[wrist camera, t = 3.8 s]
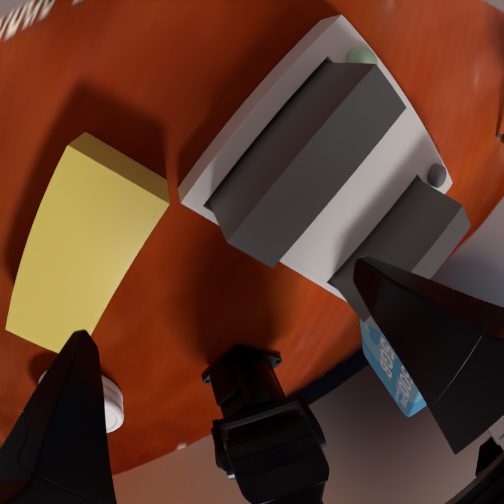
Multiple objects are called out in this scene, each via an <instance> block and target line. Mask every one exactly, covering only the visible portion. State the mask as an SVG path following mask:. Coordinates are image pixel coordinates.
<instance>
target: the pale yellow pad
mask: <svg viewBox="0 0 504 504" xmlns="http://www.w3.org/2000/svg"><path fill="white" fill-rule="evenodd" d="M169 205H170V201H169V193H168V185H167V180H166V179H164V178H163V177H161V176H159V175H158V174H156V173H154V172H153V171H151V170H149V169H148V168H146V167H144V166H143V165H141V164H139V163H138V162H136V161H134V160H133V159H131V158H129V157H128V156H126V155H124V154H123V153H121V152H119V151H118V150H116V149H114V148H112V147H111V146H109V145H107V144H106V143H104V142H102V141H101V140H99V139H97V138H95V137H94V136H92V135H90V134H89V133H87V132H84V133H83V134H82V135H80V136H79V137H78V138H76V139H75V140H74V141H72V142H71V143H70V144H68V145H67V147H66V149H65V151H64V153H63V155H62V157H61V159H60V161H59V163H58V165H57V167H56V170H55V172H54V174H53V176H52V178H51V180H50V183H49V185H48V187H47V190H46V192H45V194H44V197H43V199H42V202H41V204H40V207H39V209H38V212H37V214H36V217H35V220H34V223H33V225H32V228H31V231H30V234H29V237H28V240H27V243H26V246H25V249H24V253H23V256H22V259H21V263H20V266H19V270H18V274H17V277H16V281H15V285H14V290H13V294H12V298H11V303H10V308H9V313H8V318H7V324H6V330H8V331H10V332H12V333H14V334H16V335H18V336H20V337H22V338H24V339H26V340H29V341H31V342H33V343H35V344H37V345H40V346H42V347H44V348H47V349H49V350H51V351H54V352H56V353H59V352H60V351H61V349H62V348H63V346H64V345H65V343H66V342H67V340H68V339H69V337H70V336H71V335H72V333H73V332H74V331H77V330H82V329H85V330H87V332H88V333H89V335H90V336H91V334H92V332H93V330H94V328H95V326H96V325H97V323H98V321H99V319H100V317H101V315H102V313H103V312H104V310H105V308H106V306H107V304H108V303H109V301H110V299H111V297H112V296H113V294H114V292H115V290H116V289H117V287H118V285H119V283H120V282H121V280H122V278H123V277H124V275H125V273H126V272H127V270H128V268H129V267H130V265H131V263H132V262H133V260H134V258H135V257H136V255H137V254H138V252H139V250H140V249H141V247H142V246H143V244H144V243H145V241H146V239H147V238H148V236H149V235H150V233H151V232H152V230H153V229H154V227H155V226H156V224H157V223H158V221H159V220H160V218H161V217H162V215H163V214H164V212H165V211H166V209H167V208H168V206H169Z"/></svg>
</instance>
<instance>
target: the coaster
mask: <svg viewBox="0 0 504 504" xmlns="http://www.w3.org/2000/svg"><path fill="white" fill-rule="evenodd" d="M46 372H47V371H45V372H44V373H43V374H42V375H41V377H40V379H39V383H40V381H41V380H42V378H43V377H44V375H45V373H46ZM102 382H103V390H104V402H105V418H106V431H107V433H108V432H111V431H114V430H116V429H117V428H118V427H120V426H121V424H122V423H123V420H124V413H123V396H122V393H121V391H120V389H119V388H118V387H117V385H116V384H114V383H113V382H112V381H111V380H109V379H108V378H106V377H104V376H103V375H102ZM39 383H38V384H39Z"/></svg>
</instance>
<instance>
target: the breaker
mask: <svg viewBox="0 0 504 504" xmlns="http://www.w3.org/2000/svg"><path fill="white" fill-rule="evenodd" d="M470 227H471V226H470V223H469V220H468V218H467V215H466V212H465V210H464V207H463V205H461V204H460V203H458V202H457V201H455V200H453V199H452V198H450V197H448V196H447V195H445V194H443V193H442V192H440V191H438V190H436V189H435V188H433V187H431V186H429V185H428V184H426V183H424V182H422V181H420V180H419V179H417V178H414V179H413V181H412V182H411V183H410V185H409V186H408V187H407V188H406V190H405V191H404V192H403V193H402V195H401V196H400V197H399V198H398V200H397V201H396V202H395V203H394V205H393V206H392V207H391V208H390V210H389V211H388V212H387V213H386V215H385V216H384V217H383V218H382V219H381V221H380V222H379V223H378V224H377V225H376V227H375V228H374V229H373V230H372V231H371V232H370V234H369V235H368V236H367V237H366V238H365V240H364V241H363V242H362V243H361V244H360V245H359V246H358V248H357V249H356V250H355V251H354V252H353V253H352V254H351V256H350V257H349V258H348V259H347V260H346V261H345V262H344V264H343V265H342V266H341V267H340V268H339V269H338V270H337V271H336V272H335V274H334V275H333V276H332V277H331V278H330V281H331V282H332V283H333V284H334V286H335V287H336V288H337V289H338V291H339V292H340V293H341V294H342V296H343V297H344V298H345V299H346V301H347V302H348V303H349V305H350V306H351V307H352V308H353V310H354V311H355V312H356V314H357V315H358V316H359V317H360V319H361V320H362V321H363V323H365V324H367V325H369V326H370V327H372V328H374V329H376V330H378V331H380V332H381V330H380V329H379V327H378V326H377V324H376V323H375V321H374V319H373V318H372V316H371V314H370V313H369V311H368V309H367V307H366V305H365V303H364V301H363V299H362V297H361V296H360V294H359V292H358V290H357V288H356V286H355V284H354V282H353V273H354V265H355V260H356V259H357V258H359V257H362V256H366V255H367V256H370V257H373V258H375V259H378V260H381V261H383V262H386V263H389V264H391V265H394V266H396V267H399V268H402V269H404V270H407V271H409V272H412V273H415V274H417V275H420V276H422V277H425V278H427V279H430V278H431V277H432V276H433V275H434V273H435V272H436V271H437V270H438V269H439V267H440V266H441V265H442V264H443V262H444V261H445V260H446V259H447V257H448V256H449V255H450V254H451V252H452V251H453V250H454V248H455V247H456V246H457V244H458V243H459V242H460V240H461V239H462V238H463V236H464V235H465V234H466V232H467V231H468V229H469V228H470Z"/></svg>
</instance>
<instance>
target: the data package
mask: <svg viewBox="0 0 504 504" xmlns="http://www.w3.org/2000/svg"><path fill="white" fill-rule="evenodd" d="M359 319H360V317H359ZM360 327H361V337H362V347H363V352H364V354H365V356H366V358H367V360H368V361H369V363H370V364H371V366H372V367H373V369H374V370H375V372H376V373H377V375H378V376H379V377H380V379H381V380H382V382H383V383H384V385H385V386H386V388H387V389H388V391H389V392H390V394H391V395H392V397H393V398H394V400H395V401H396V403H397V404H398V406H399V407H400V408H401V410H402V412H403V413H404V414H405V415H406V416H408V417H409V416H412V415H413V414H415V413H416V412H418V411H419V410H421V409H422V408H423V407H425V406H426V405H427V404H426V402H425V401H424V399H423V397H422V396H421V394H420V392H419V391H418V389H417V387H416V386H415V384H414V382H413V381H412V379H411V377H410V376H409V374H408V372H407V371H406V369H405V368H404V366H403V364H402V363H401V361H400V360H399V358H398V357H397V355H396V353H395V352H394V350H393V349H392V347H391V346H390V344H389V342H388V341H387V339H386V338H385V336H384V335H383V333H382V332H380V331H378V330H376V329H374V328H372V327H370V326H369V325H367V324H365V323H363V321H362V320H361V319H360Z"/></svg>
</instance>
